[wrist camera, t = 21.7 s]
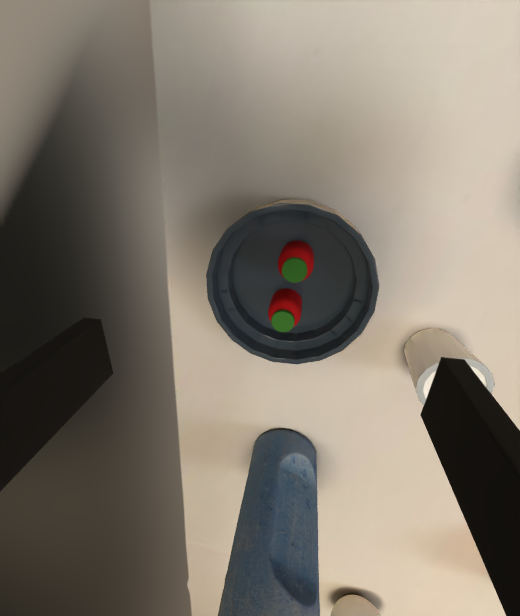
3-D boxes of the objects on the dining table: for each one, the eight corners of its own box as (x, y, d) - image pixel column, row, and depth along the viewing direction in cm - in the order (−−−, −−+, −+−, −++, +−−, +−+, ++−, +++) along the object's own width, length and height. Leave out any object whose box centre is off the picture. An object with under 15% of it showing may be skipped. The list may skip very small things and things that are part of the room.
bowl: (190, 256, 35) (174, 267, 31) (318, 162, 29) (318, 161, 25) (271, 363, 40) (267, 385, 36) (398, 301, 33) (409, 319, 29)
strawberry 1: (274, 252, 33) (268, 265, 28) (302, 233, 31) (300, 244, 27) (292, 278, 34) (288, 295, 29) (320, 261, 32) (321, 276, 28)
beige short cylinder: (461, 370, 36) (492, 413, 29) (399, 375, 37) (416, 416, 31) (463, 319, 33) (498, 355, 27) (397, 327, 35) (415, 362, 28)
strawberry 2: (265, 297, 35) (258, 316, 31) (291, 282, 34) (287, 300, 29) (282, 321, 36) (277, 342, 32) (307, 307, 35) (307, 327, 30)
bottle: (241, 448, 48) (148, 811, 21) (281, 416, 43) (228, 819, 17) (287, 480, 49) (255, 859, 22) (330, 452, 45) (355, 877, 18)
